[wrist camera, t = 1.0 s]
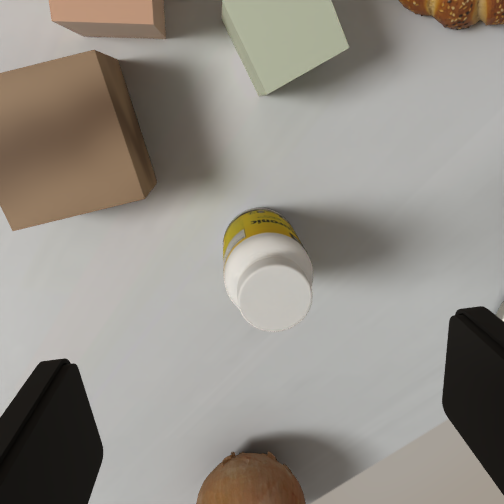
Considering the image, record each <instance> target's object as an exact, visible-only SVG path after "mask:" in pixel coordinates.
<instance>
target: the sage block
mask: <svg viewBox="0 0 504 504" xmlns="http://www.w3.org/2000/svg"><path fill="white" fill-rule="evenodd" d="M222 21H223V23H224V25H225V27H226V30H227V32H228V34H229V36H230V38H231V40H232V42H233V44H234V46H235V48H236V50H237V52H238V54H239V56H240V58H241V60H242V63H243V65H244V67H245V69H246V71H247V73H248V75H249V77H250V79H251V81H252V83H253V85H254V87H255V89H256V91H257V93H258V96H262V95H267V94H269V93H271V92H273V91H274V90H276V89H278V88H280V87H281V86H283V85H285V84H287V83H288V82H290V81H292V80H294V79H295V78H297V77H299V76H301V75H302V74H304V73H306V72H308V71H309V70H311V69H313V68H315V67H316V66H318V65H320V64H322V63H324V62H325V61H327V60H329V59H331V58H332V57H334V56H336V55H338V54H339V53H341V52H343V51H345V50H346V49H348V48H349V45H348V43H347V40H346V38H345V35H344V32H343V30H342V27H341V24H340V22H339V19H338V17H337V14H336V11H335V9H334V6H333V4H332V1H331V0H222Z"/></svg>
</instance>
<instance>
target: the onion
mask: <svg viewBox="0 0 504 504" xmlns="http://www.w3.org/2000/svg"><path fill="white" fill-rule="evenodd" d="M196 504H305V499H304V494H303V491H302V489H301V486H300V484H299V482H298V481H297V479H296V478H295V476H294V475H293V474H292V472H291V471H290V469H289V468H288V467H287V466H286V465H284V464H283V465H282V464H281V463H279V462H278V461H277V459H276V457H275V456H274V455H273V454H272V453H270V452H269V451H268V454H267V455H266V454H263V453H262V454H258V453H244V452H242V453H239V455H236V456H235V452H233V453H232V452H231V455H230V456H228V457H226V458H224V460H223V462H222V463H220V464H219V465H218V466H217V467H216V468H215V469H214V470H213V471H212V472H211V473H210V474H209V475H208V477H207V478H206V479H205V481H204V483H203V484H202V487H201V489H200V491H199V494H198V499H197V503H196Z"/></svg>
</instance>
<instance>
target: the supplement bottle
mask: <svg viewBox="0 0 504 504" xmlns="http://www.w3.org/2000/svg"><path fill="white" fill-rule="evenodd" d="M223 261H224V283H225V288H226V291H227V293H228V295H229V297H230V299H231V300H232V302H233V303H234V304H235V305H236V306H237V307H238V308H239V309H240V312H241V314H242V316H243V317H244V318H245V320H246V321H247V322H248V323H250V324H251V325H252V326H254V327H256V328H258V329H260V330H264V331H270V332H277V331H283V330H286V329H289V328H291V327H293V326H295V325H296V324H298V323H299V322H300V321H301V320H302V319H303V318H304V317H305V316H306V314H307V313H308V311H309V309H310V306H311V303H312V289H311V286H312V282H313V267H312V263H311V260H310V258H309V256H308V254H307V251H306V250H305V248H304V247H303V245H302V244H301V242H300V240H299V238H298V237H297V235H296V233H295V232H294V230H293V228H292V226H291V225H290V223H289V222H288V221H287V220H286V219H285V218H284V217H283V216H282V215H281V214H279V213H277V212H275V211H273V210H270V209H266V208H254V209H250V210H247V211H244V212H242V213H241V214H239V215H238V216H236V217H235V218H234V219H233V220H232V221H231V223H230V224H229V226H228V227H227V230H226V232H225V235H224V239H223Z"/></svg>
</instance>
